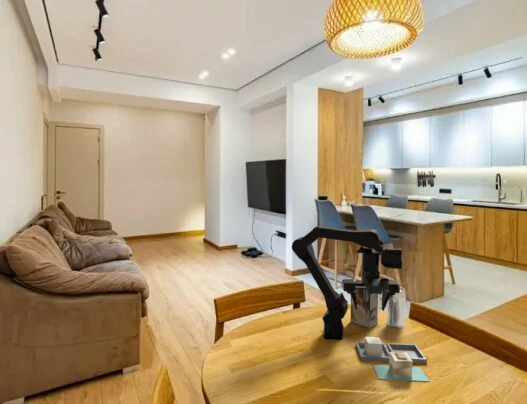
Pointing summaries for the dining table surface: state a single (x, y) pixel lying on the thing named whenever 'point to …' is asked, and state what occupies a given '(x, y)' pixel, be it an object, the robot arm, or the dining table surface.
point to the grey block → (373, 346)
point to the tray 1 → (364, 357)
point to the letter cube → (400, 365)
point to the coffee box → (365, 308)
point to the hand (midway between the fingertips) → (369, 309)
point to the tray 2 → (408, 351)
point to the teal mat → (386, 374)
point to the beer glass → (396, 309)
